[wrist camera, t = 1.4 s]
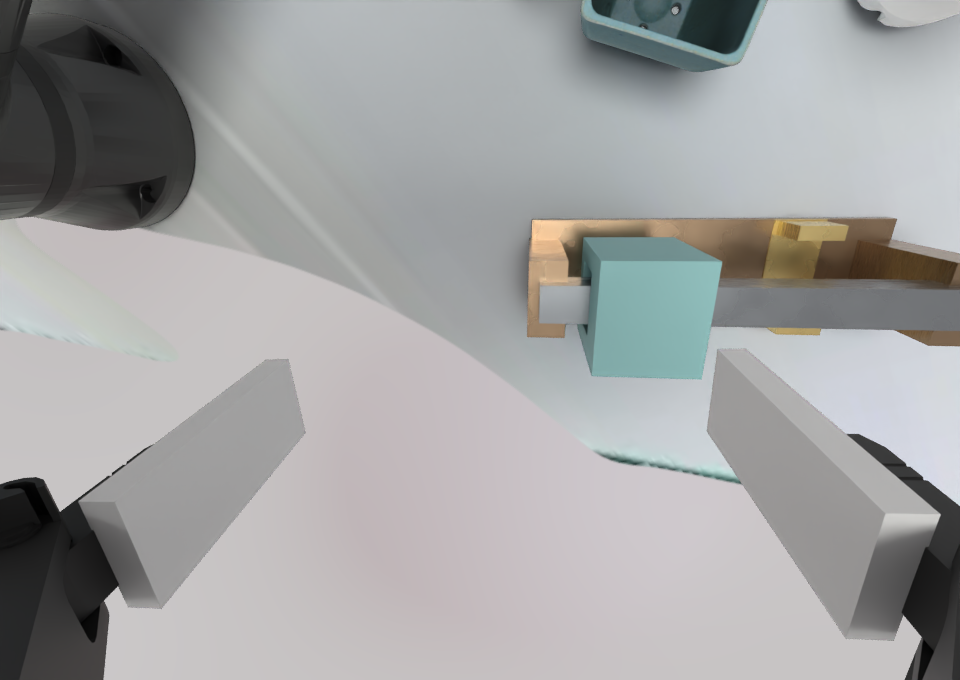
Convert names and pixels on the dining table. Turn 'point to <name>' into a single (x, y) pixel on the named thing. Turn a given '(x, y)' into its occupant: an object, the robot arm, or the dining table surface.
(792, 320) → the rail
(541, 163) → the dining table surface
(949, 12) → the water bottle
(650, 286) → the block
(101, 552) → the robot arm
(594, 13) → the flower pot
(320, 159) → the dining table surface
